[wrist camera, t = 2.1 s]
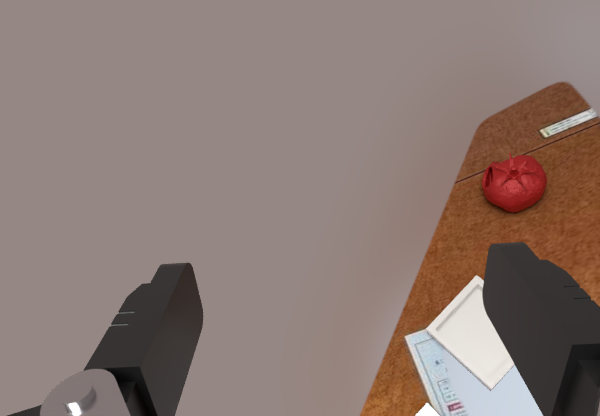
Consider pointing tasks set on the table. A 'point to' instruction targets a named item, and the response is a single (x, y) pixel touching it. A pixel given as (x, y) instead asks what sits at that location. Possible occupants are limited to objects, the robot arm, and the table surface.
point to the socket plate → (427, 411)
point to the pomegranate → (514, 183)
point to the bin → (472, 336)
